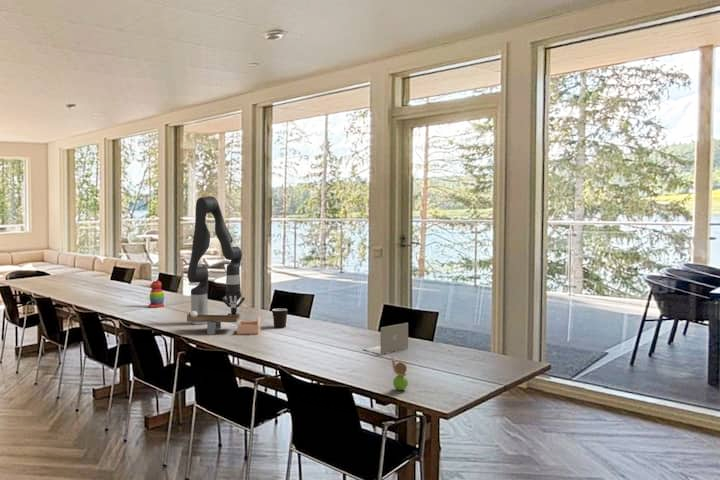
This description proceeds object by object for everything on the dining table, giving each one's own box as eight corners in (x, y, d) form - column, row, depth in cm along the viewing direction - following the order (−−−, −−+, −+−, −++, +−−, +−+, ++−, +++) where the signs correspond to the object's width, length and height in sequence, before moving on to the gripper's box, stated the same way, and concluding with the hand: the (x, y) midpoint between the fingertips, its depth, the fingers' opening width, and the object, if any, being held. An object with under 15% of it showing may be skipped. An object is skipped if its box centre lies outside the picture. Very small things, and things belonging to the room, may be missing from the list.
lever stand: (213, 328, 324) (213, 316, 324) (220, 328, 324) (220, 316, 324) (207, 334, 307) (207, 322, 307) (215, 334, 307) (214, 322, 307)
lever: (192, 318, 322) (193, 310, 322) (240, 319, 323) (240, 311, 323) (186, 323, 308) (186, 314, 308) (236, 324, 309) (236, 315, 309)
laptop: (389, 345, 286) (390, 318, 286) (408, 349, 277) (408, 322, 276) (362, 350, 275) (362, 323, 274) (380, 355, 265) (380, 327, 264)
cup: (239, 330, 318) (239, 315, 318) (260, 330, 319) (260, 315, 319) (236, 334, 308) (236, 319, 307) (258, 334, 308) (258, 319, 308)
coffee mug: (284, 329, 322) (284, 311, 322) (269, 328, 324) (269, 310, 323) (291, 325, 334) (291, 307, 333) (277, 324, 335) (276, 307, 335)
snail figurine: (395, 386, 218) (395, 354, 217) (410, 389, 214) (410, 357, 214) (387, 390, 213) (388, 357, 213) (403, 393, 210) (403, 360, 209)
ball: (191, 318, 313) (190, 311, 313) (199, 316, 314) (197, 309, 313) (190, 319, 309) (188, 312, 309) (197, 317, 310) (195, 310, 309)
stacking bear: (148, 305, 399) (148, 280, 398) (164, 305, 402) (164, 279, 401) (148, 308, 389) (147, 281, 388) (164, 307, 392) (163, 281, 391)
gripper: (246, 282, 323) (247, 313, 324) (222, 282, 322) (223, 313, 323) (244, 283, 316) (245, 315, 316) (219, 284, 315) (220, 315, 316)
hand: (233, 314), depth 320 cm, fingers closed
